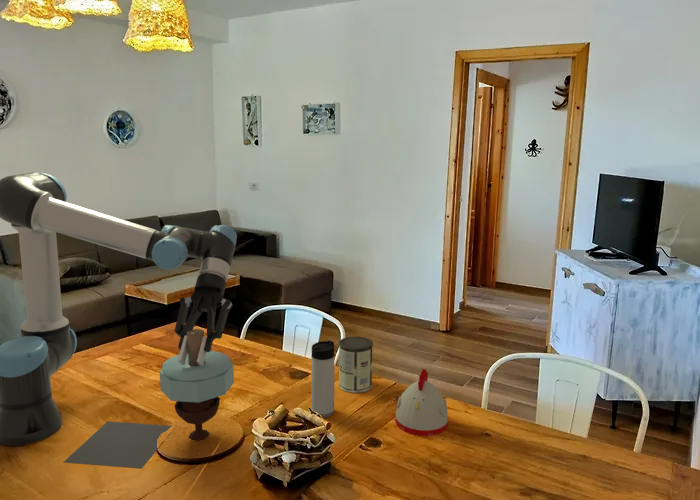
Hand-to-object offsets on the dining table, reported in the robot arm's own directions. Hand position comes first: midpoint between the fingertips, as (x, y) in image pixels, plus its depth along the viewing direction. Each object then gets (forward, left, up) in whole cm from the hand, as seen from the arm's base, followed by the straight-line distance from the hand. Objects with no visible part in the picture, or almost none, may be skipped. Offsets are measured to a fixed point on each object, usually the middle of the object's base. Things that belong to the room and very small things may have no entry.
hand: (190, 363), depth 133 cm
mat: (-17, -2, -21) cm, 28 cm away
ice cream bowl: (0, +4, -22) cm, 22 cm away
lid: (0, +4, -8) cm, 9 cm away
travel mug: (+29, +21, -22) cm, 42 cm away
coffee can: (+36, +39, -22) cm, 57 cm away
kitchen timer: (+56, +19, -22) cm, 63 cm away
